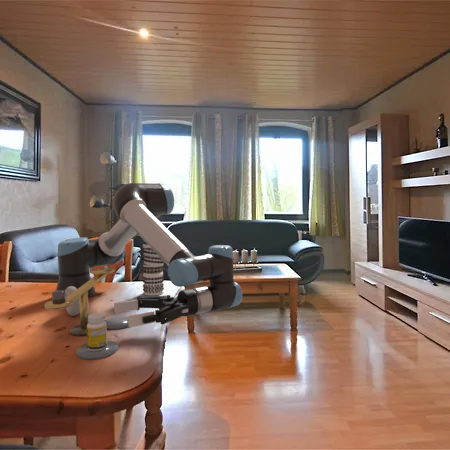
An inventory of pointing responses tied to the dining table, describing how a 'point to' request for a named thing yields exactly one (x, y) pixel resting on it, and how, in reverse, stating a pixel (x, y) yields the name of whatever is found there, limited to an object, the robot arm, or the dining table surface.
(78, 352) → the dish low
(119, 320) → the glossy grey puck
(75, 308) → the donut
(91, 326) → the supplement bottle
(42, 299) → the dining table surface
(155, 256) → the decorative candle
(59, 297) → the balance
